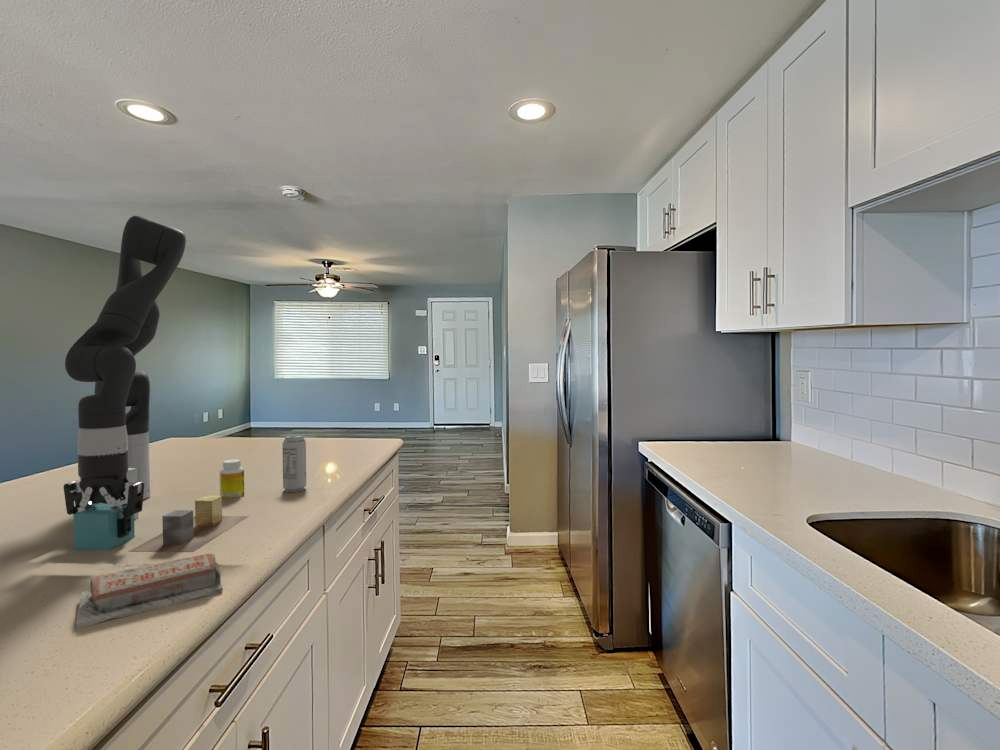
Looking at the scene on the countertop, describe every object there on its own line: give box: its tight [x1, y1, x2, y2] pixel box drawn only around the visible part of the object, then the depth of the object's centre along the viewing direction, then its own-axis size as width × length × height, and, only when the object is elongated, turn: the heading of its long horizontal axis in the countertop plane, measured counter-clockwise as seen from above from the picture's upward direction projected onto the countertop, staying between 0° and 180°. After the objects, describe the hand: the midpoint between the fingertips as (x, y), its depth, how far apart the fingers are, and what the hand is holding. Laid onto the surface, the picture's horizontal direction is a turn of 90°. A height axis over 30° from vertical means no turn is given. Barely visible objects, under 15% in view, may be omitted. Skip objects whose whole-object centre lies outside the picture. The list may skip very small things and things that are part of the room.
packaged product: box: [75, 553, 224, 629], centre depth 77 cm, size 18×5×10 cm
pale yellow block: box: [194, 495, 223, 527], centre depth 106 cm, size 4×4×6 cm
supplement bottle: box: [219, 458, 245, 499], centre depth 128 cm, size 6×6×10 cm
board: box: [129, 509, 249, 553], centre depth 101 cm, size 12×20×7 cm, turn 0°
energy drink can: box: [282, 434, 307, 493], centre depth 138 cm, size 6×6×15 cm
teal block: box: [73, 503, 136, 551], centre depth 95 cm, size 6×6×7 cm
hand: (105, 535), depth 95 cm, fingers closed on teal block, 6 cm apart
